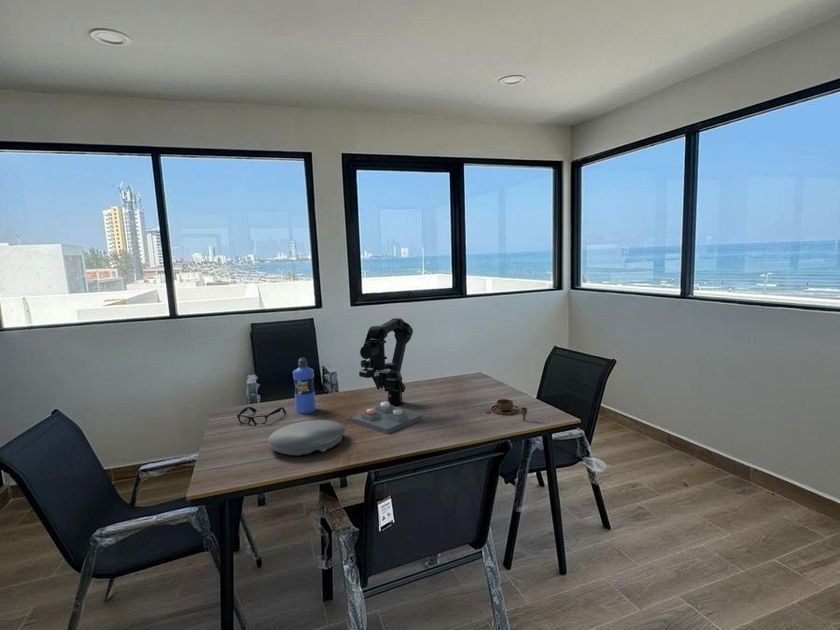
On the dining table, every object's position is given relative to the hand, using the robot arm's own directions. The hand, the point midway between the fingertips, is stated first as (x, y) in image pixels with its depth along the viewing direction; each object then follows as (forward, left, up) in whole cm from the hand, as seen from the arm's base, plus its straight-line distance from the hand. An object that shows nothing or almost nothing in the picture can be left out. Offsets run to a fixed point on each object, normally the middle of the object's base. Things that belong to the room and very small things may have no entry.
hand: (379, 388), depth 201 cm
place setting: (-32, +46, -12) cm, 57 cm away
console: (+6, +10, -11) cm, 16 cm away
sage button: (+5, +16, -8) cm, 18 cm away
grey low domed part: (+41, +4, -12) cm, 43 cm away
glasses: (+37, -39, -12) cm, 55 cm away
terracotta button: (+11, +6, -7) cm, 15 cm away
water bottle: (+19, -31, -11) cm, 38 cm away
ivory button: (+1, +4, -7) cm, 9 cm away
